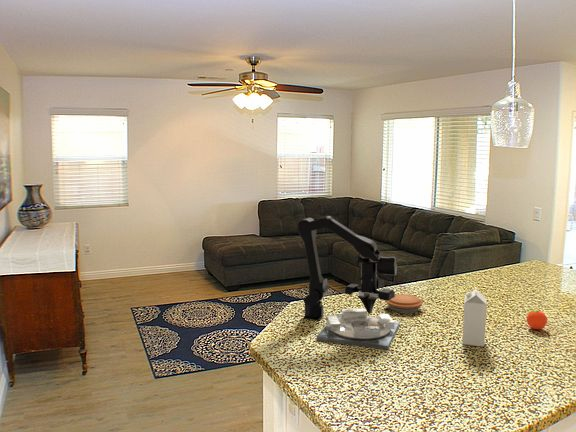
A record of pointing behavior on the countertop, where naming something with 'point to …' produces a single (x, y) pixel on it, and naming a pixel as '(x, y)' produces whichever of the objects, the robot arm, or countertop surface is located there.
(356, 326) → the slotted metal disc
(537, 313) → the tomato
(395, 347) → the countertop surface
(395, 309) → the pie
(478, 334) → the milk carton
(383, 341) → the base plate
